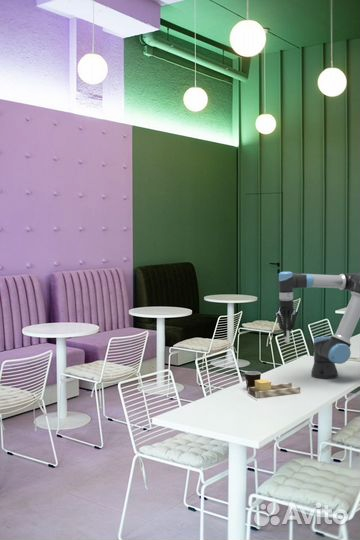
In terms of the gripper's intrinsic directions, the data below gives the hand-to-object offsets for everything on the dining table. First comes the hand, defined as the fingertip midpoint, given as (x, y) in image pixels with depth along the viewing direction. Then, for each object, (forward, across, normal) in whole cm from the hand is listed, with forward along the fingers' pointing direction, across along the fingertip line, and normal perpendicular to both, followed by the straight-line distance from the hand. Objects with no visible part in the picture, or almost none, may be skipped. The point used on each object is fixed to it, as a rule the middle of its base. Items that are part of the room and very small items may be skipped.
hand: (287, 342), depth 342 cm
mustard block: (+23, -22, -15) cm, 35 cm away
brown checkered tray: (+24, -16, -15) cm, 33 cm away
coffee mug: (+25, -22, -1) cm, 33 cm away
